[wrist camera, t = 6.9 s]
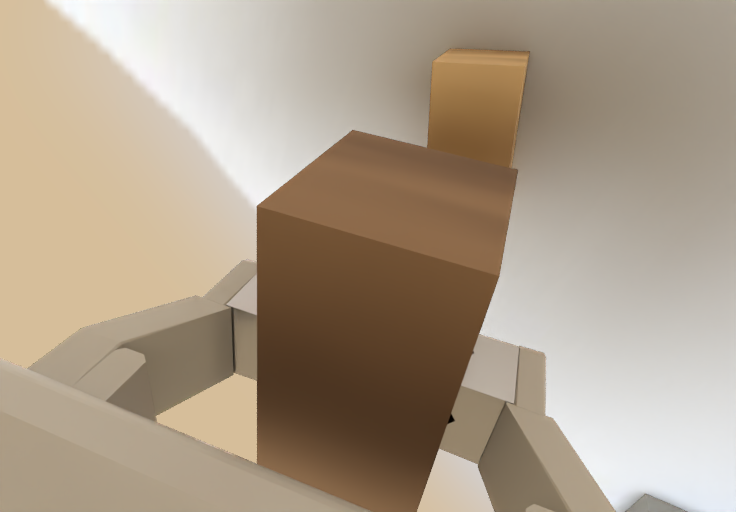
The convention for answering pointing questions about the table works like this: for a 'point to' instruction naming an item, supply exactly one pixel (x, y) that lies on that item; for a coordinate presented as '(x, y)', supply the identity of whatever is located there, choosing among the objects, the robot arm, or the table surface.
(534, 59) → the table surface
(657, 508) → the slate block
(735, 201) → the table surface
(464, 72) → the oak block
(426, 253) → the walnut block
